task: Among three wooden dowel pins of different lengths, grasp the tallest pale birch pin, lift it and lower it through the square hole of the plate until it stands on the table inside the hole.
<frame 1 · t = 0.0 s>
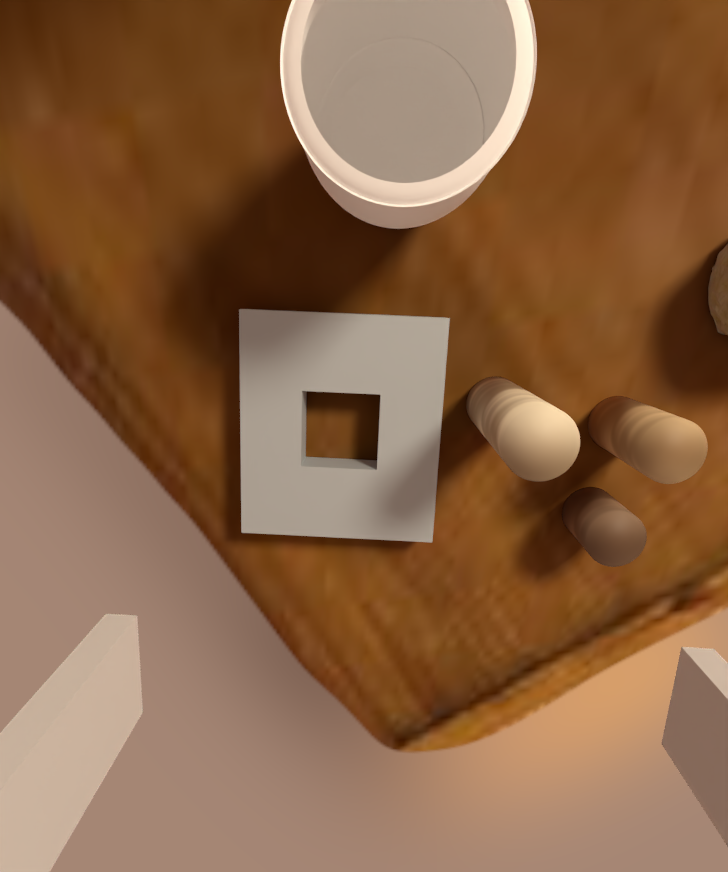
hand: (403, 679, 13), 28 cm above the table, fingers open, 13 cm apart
jar: (396, 161, 36), on the table
oak pin: (615, 423, 40), on the table
birch pin: (493, 403, 40), on the table
hole plate: (342, 423, 40), on the table
walnut pin: (588, 512, 42), on the table
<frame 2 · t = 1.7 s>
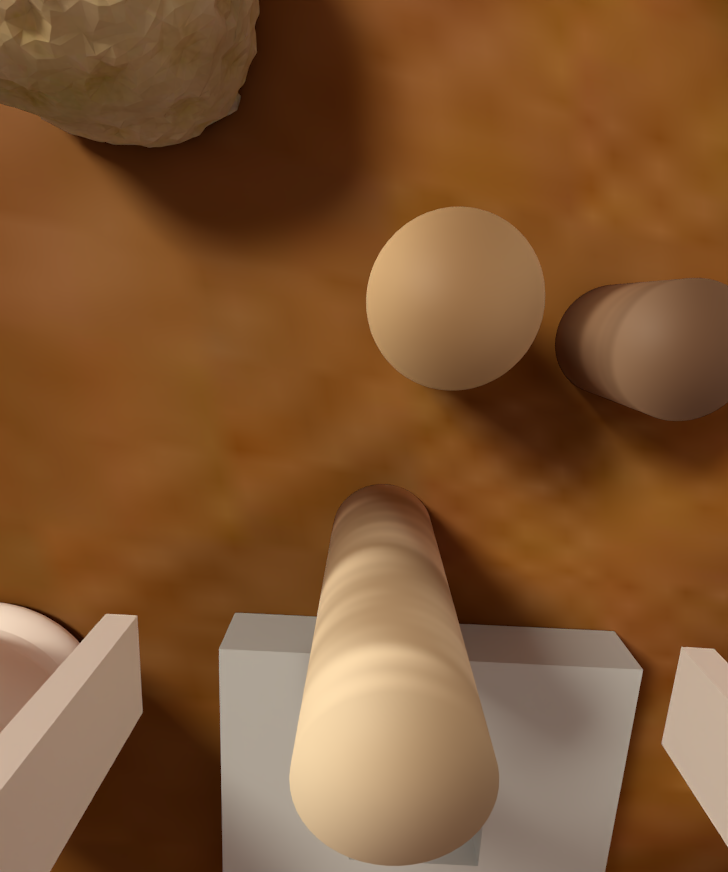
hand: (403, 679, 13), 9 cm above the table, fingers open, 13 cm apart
jar: (11, 679, 24), on the table
oak pin: (422, 303, 20), on the table
birch pin: (382, 531, 22), on the table
decorative object: (142, 12, 18), on the table
hole plate: (413, 760, 25), on the table
walnut pin: (609, 340, 20), on the table
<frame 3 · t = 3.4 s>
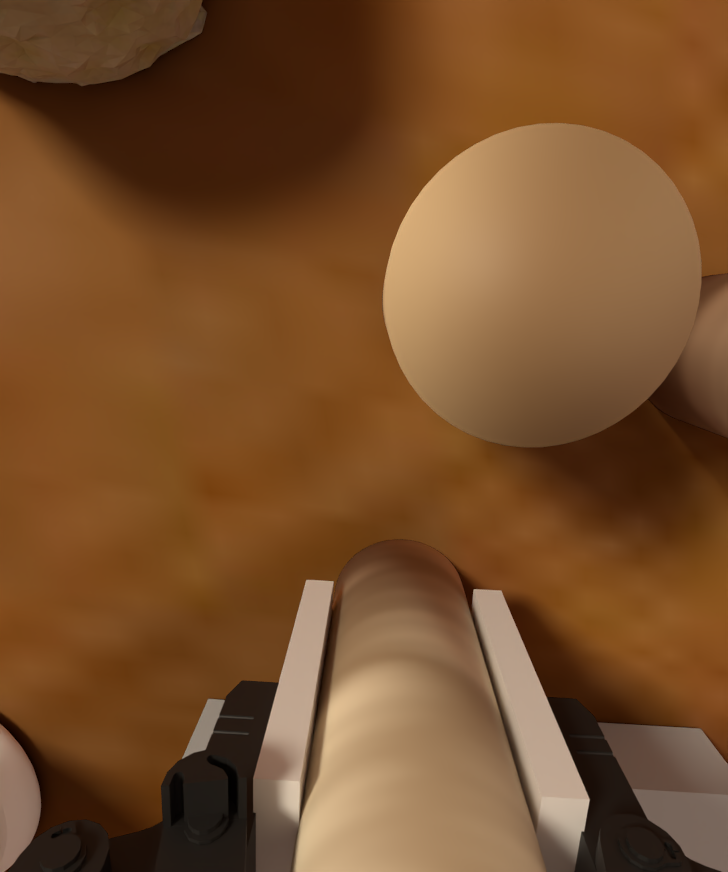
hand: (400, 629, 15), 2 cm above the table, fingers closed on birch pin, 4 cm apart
oak pin: (455, 301, 15), on the table
birch pin: (399, 599, 17), on the table, touching gripper
walnut pin: (710, 351, 15), on the table
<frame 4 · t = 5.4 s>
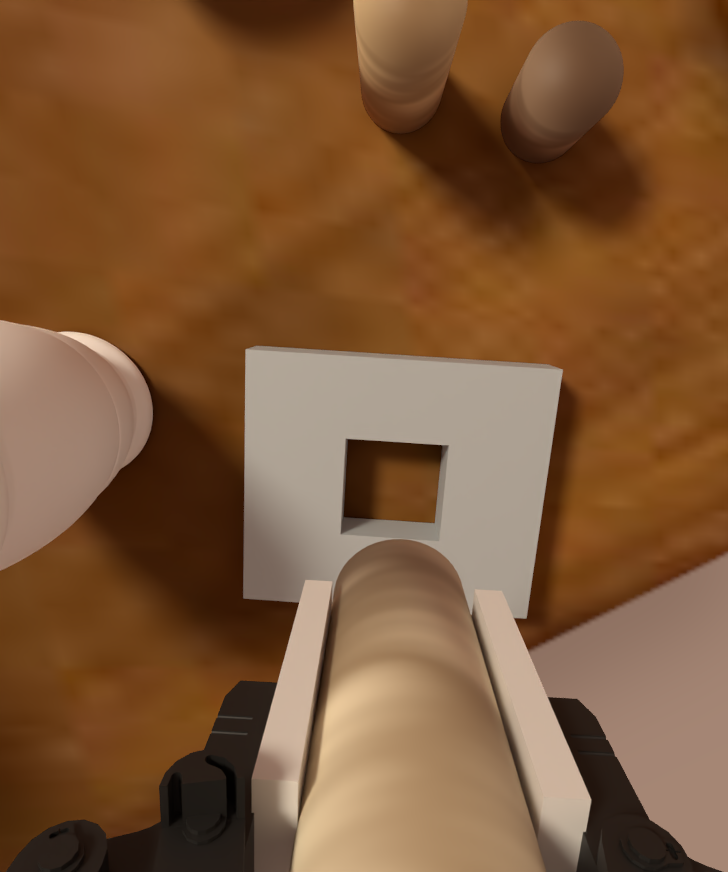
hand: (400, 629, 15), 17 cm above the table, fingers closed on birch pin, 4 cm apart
jar: (83, 404, 31), on the table
oak pin: (401, 88, 27), on the table
birch pin: (398, 599, 17), point 15 cm above the table, touching gripper
hole plate: (392, 476, 32), on the table
walnut pin: (541, 119, 27), on the table
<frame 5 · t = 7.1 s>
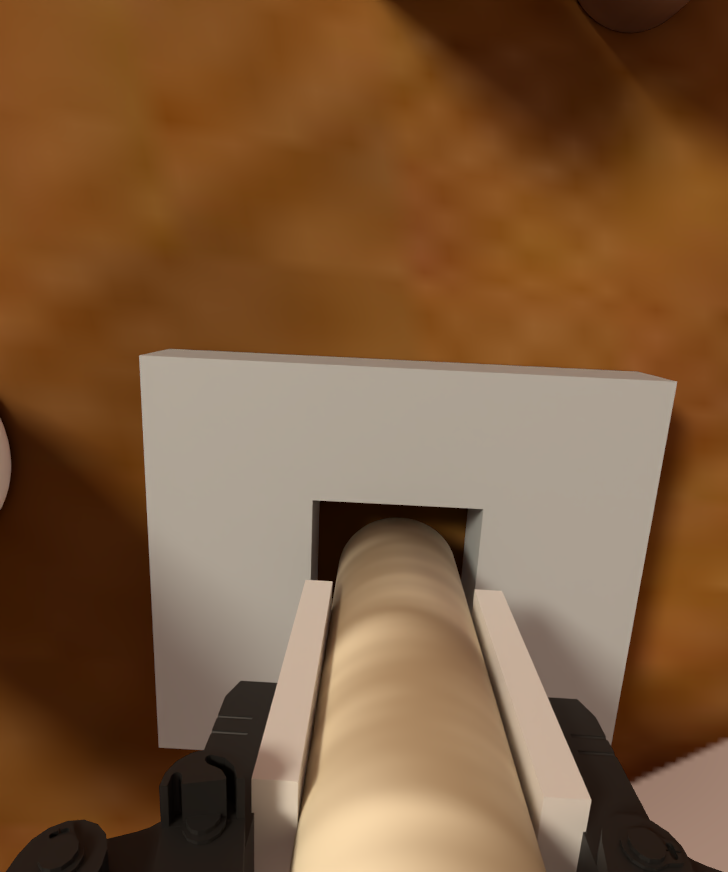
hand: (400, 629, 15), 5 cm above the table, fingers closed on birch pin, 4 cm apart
birch pin: (396, 572, 19), point 2 cm above the table, touching gripper
hole plate: (390, 549, 20), on the table
when the fingers open (3 cm above the table, at t = 7.7 s): birch pin stays where it is, resting in hole plate.
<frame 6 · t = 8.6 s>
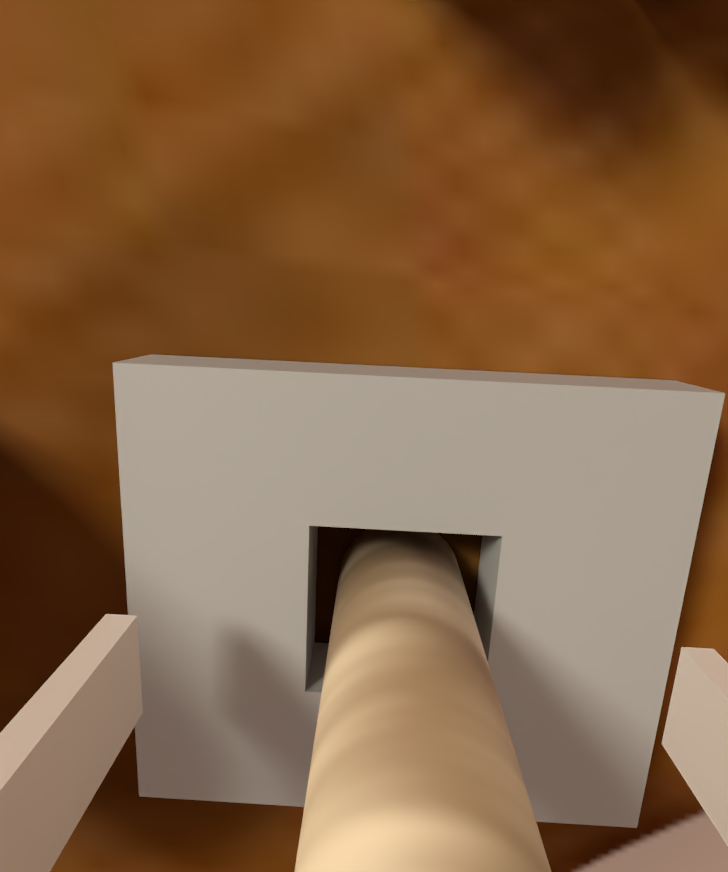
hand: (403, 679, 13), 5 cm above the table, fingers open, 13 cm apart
birch pin: (399, 576, 18), resting in hole plate
hole plate: (396, 575, 18), on the table
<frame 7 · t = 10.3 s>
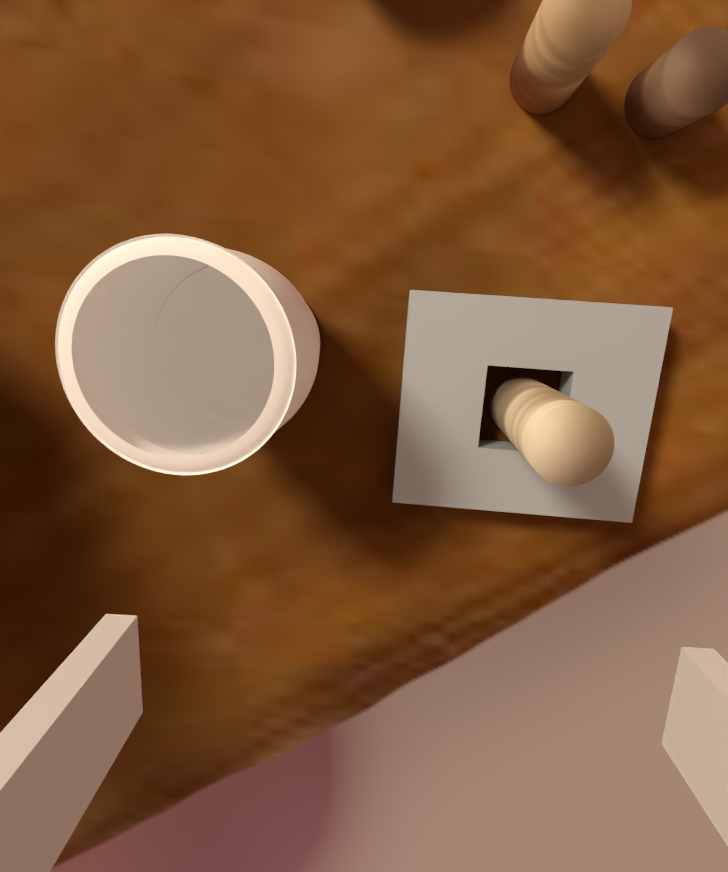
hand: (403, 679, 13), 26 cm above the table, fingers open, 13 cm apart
jar: (260, 341, 38), on the table
oak pin: (543, 77, 33), on the table
birch pin: (517, 404, 38), resting in hole plate
hole plate: (516, 403, 38), on the table
walnut pin: (658, 101, 33), on the table
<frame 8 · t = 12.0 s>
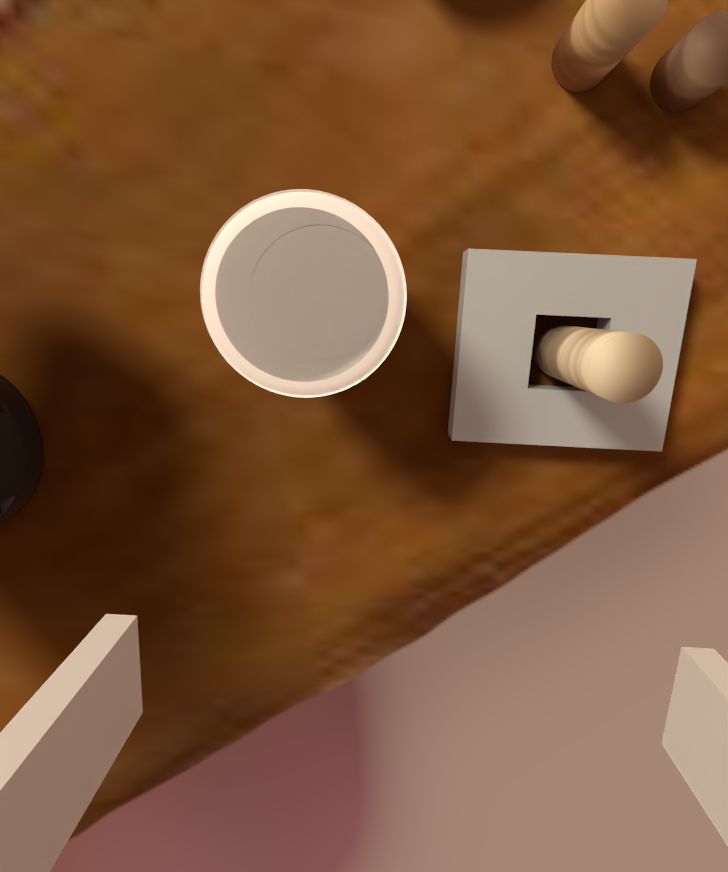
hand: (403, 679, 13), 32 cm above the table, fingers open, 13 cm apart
jar: (328, 300, 42), on the table
oak pin: (580, 60, 38), on the table
birch pin: (558, 351, 42), resting in hole plate
hole plate: (558, 351, 42), on the table
walnut pin: (680, 79, 38), on the table
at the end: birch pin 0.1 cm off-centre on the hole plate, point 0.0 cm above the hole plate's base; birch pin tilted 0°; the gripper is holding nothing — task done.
